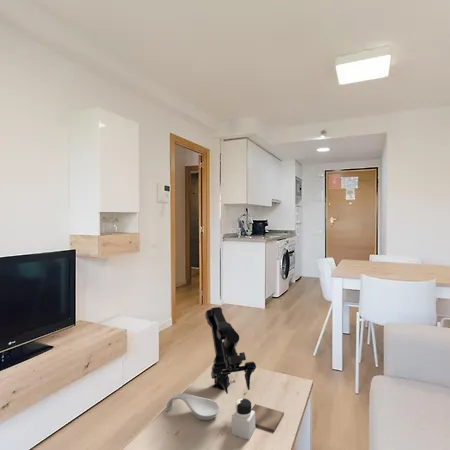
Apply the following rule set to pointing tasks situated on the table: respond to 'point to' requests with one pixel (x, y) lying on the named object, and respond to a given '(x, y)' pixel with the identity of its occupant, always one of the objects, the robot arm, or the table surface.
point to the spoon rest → (197, 405)
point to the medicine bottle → (243, 419)
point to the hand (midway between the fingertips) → (238, 391)
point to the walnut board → (267, 417)
